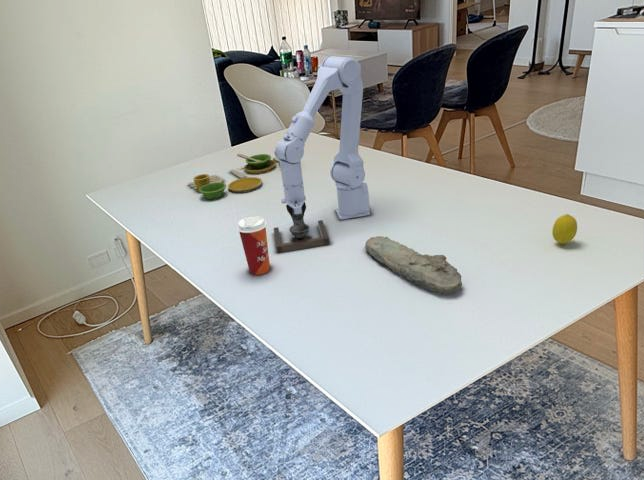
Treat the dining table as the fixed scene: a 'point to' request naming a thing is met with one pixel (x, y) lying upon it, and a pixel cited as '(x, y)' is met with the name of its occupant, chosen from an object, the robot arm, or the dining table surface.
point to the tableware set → (256, 164)
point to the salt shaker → (299, 226)
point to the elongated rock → (416, 265)
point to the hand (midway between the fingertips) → (298, 227)
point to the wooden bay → (303, 243)
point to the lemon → (564, 229)
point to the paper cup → (255, 244)
